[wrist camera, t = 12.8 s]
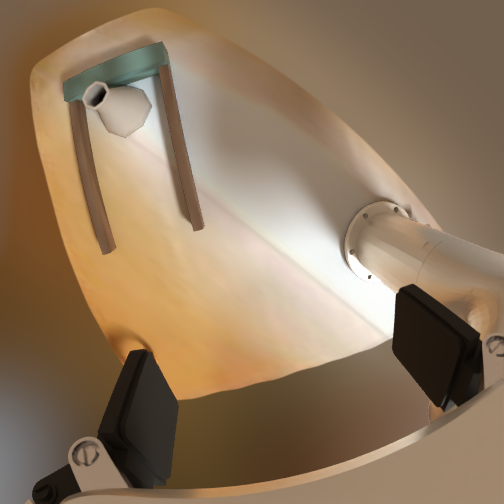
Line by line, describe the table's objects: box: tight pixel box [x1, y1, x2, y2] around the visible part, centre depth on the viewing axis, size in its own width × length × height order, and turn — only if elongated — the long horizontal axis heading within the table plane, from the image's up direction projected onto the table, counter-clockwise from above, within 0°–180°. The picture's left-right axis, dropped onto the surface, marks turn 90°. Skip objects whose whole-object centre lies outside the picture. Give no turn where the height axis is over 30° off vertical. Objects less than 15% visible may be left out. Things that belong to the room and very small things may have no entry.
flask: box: [82, 81, 152, 138], centre depth 26 cm, size 7×7×10 cm
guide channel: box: [63, 42, 204, 255], centre depth 30 cm, size 14×25×4 cm, turn 12°
